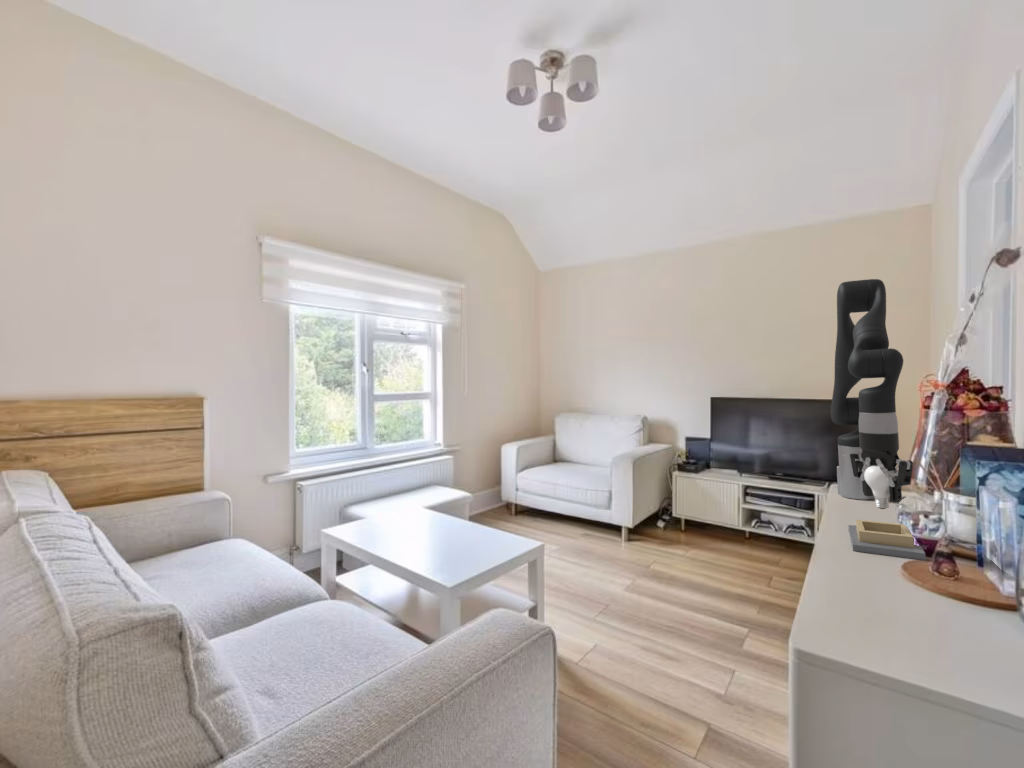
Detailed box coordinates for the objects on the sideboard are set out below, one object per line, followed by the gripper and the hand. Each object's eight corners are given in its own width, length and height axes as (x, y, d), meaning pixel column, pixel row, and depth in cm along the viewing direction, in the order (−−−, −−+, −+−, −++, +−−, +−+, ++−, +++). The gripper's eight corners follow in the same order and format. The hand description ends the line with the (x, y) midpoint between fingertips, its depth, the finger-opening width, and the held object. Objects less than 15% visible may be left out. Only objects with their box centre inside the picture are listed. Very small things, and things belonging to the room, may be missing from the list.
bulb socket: (848, 530, 122) (847, 515, 122) (912, 537, 115) (911, 521, 115) (853, 550, 108) (852, 534, 108) (925, 560, 101) (924, 542, 101)
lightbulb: (872, 512, 109) (870, 466, 109) (861, 505, 115) (858, 461, 115) (904, 512, 107) (902, 466, 107) (890, 505, 113) (888, 461, 113)
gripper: (922, 432, 105) (925, 504, 105) (862, 426, 119) (865, 490, 119) (895, 434, 104) (899, 508, 104) (838, 428, 118) (842, 493, 118)
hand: (881, 498), depth 111 cm, fingers closed on lightbulb, 6 cm apart
